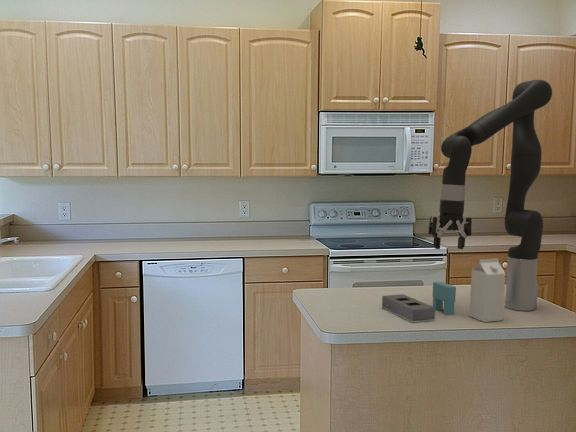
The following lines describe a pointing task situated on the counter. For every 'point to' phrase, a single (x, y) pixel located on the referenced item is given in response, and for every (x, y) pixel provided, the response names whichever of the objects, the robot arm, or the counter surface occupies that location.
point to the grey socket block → (408, 308)
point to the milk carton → (487, 291)
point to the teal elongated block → (444, 297)
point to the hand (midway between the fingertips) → (448, 248)
